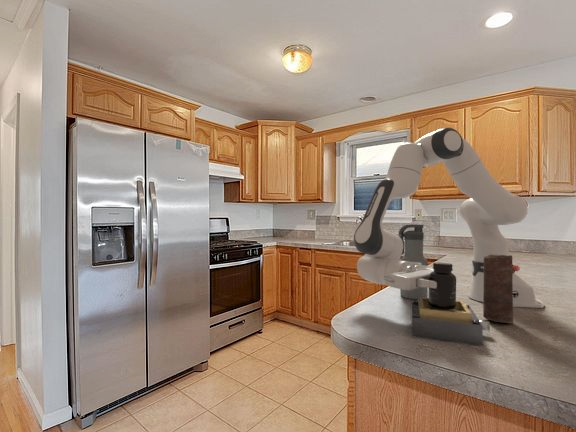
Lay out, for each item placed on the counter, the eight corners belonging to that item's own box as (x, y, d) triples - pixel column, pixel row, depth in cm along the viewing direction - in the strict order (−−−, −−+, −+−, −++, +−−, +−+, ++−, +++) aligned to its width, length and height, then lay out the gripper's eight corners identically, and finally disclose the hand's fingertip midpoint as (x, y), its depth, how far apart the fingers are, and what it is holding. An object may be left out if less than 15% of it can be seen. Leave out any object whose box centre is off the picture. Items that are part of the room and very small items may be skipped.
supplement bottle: (459, 311, 82) (460, 265, 82) (431, 309, 83) (432, 264, 83) (451, 304, 88) (452, 262, 89) (425, 302, 90) (426, 261, 90)
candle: (503, 327, 87) (503, 257, 87) (477, 319, 94) (477, 254, 94) (518, 323, 91) (518, 255, 91) (492, 316, 97) (492, 252, 97)
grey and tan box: (481, 325, 89) (482, 301, 89) (496, 347, 74) (497, 318, 74) (411, 317, 96) (411, 294, 96) (411, 336, 81) (411, 309, 81)
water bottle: (396, 297, 119) (396, 224, 119) (402, 292, 127) (402, 223, 127) (425, 301, 113) (425, 225, 113) (429, 295, 121) (429, 224, 121)
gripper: (379, 268, 90) (423, 276, 79) (420, 261, 102) (463, 268, 91) (379, 289, 91) (423, 300, 79) (420, 280, 102) (463, 289, 91)
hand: (445, 283), depth 85 cm, fingers closed on supplement bottle, 7 cm apart
